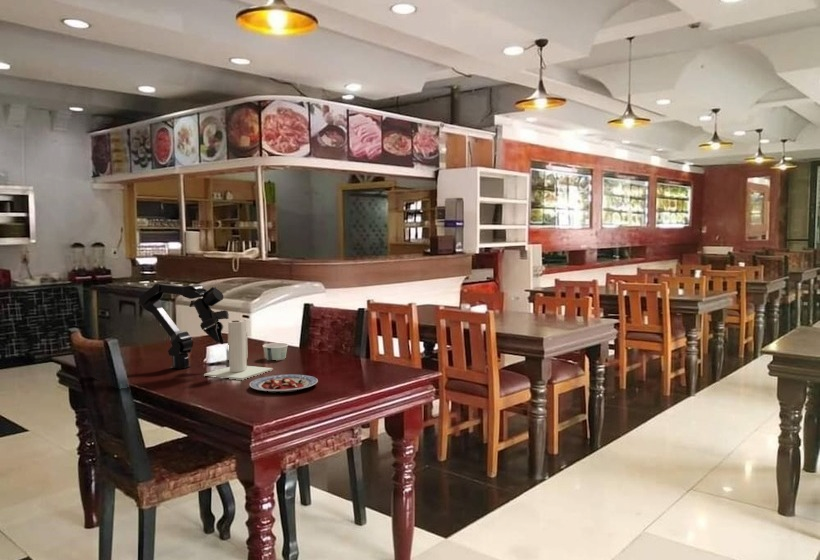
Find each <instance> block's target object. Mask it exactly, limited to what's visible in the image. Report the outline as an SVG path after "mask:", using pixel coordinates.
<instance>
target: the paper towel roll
mask: <svg viewBox="0 0 820 560" xmlns="http://www.w3.org/2000/svg"><path fill="white" fill-rule="evenodd" d="M246 323H247V322H246V320H231V321H227V326H228V327H227V328H228V330H227V331H228V333H229V362H228V363H229V367H230V372H241V371H244V370H245V369H247V366H248V362H247V360H248V359H247V354H246V332H247V327H246V326H247V325H246ZM228 333H227V334H228Z"/></svg>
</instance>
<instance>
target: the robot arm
mask: <svg viewBox="0 0 820 560" xmlns="http://www.w3.org/2000/svg"><path fill="white" fill-rule="evenodd" d="M164 294H172V295H178V296H182V297H183V298H186V299H189V300H191V301H190V304H189V307H190V308H193V307H194V308H195V310H196V313H197V314H198V317H199V319H200V320H201V323H200V328H201V330H203V332H204V333H206V334H207V336H209V337H210V338H211V339H212V340H213V341H215V342H216V343H219V344H220V345H223V344H224V343H225V342H224V339H223V338H224V337H223V334H222V331H223V329H224V324H223V322H221V321H219V320H224V319H225V320H228V319H229V311H228V310H219V311H215V310H213V309H212V307H214V306H215V305H217V304H218V303H220V302H222V300H224V293H223V292H222V291H221V290H220V289H218V288H217V287H216V286H212V287H210V289H205V288H204V287H203V285H201V284H193V285H181V284H172V283H170V284H169V283H163V282H159V283H155V284H154V285H152V287H151V288H149V289H148V290H146V291H145V292H143V294H141V295H140V296H139V298H138V303H139V305H140V307H142V308H143V309H144V310H145V311H147V312H149V313H151V314H152V315H153V317H154V318H155V319H156V320H157V322H158V323H159V324H160V326H161V327H162V328H163V330H164V331H165V332H166V334H167V335H168V336H169V338H170V345H171V346H170V348H169V349H168V350H167V352H168V355H169V356H171V358H172V359H171V360H172V361H171V362H172V366H170V367H169V369H172V368H177V369H176V370H182V369H181V368H184V369H186V368H185V367H188V368H190V367H189V366H191V365H190V363H189V354H190V353H191V352H192V348H193V347H194V340H193V337H192V336H191V335H190V334H189V332H188V331H187V330H186V331H181V330H180V328H178V325H176V323H175V322H174V320H173V319H172V318H171V317H170V316H169V314H168V313H167V311H165V309H164V308H163V306H162V305H163V304H162V298H163V297H164Z"/></svg>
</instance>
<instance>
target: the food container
mask: <svg viewBox="0 0 820 560" xmlns="http://www.w3.org/2000/svg"><path fill="white" fill-rule="evenodd" d="M288 346H289V344H288V343H285V342H271V343H270V342H269V343H265V344H262V348H263V351H264V352H263V353H264V356H265V357H264V358H265V360H266V359H267V360H266V361H270V360H276V361H282V360H285V358H286V357H287V350H288ZM286 359H287V358H286Z"/></svg>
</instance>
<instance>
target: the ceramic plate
mask: <svg viewBox="0 0 820 560" xmlns="http://www.w3.org/2000/svg"><path fill="white" fill-rule="evenodd" d="M317 383H319V380H318V378H316V377H315V376H311V375H307V374H293V373H292V374H288V373H287V374H277V375H276V374H275V375H268V376H263V377H259V378H256V379H253V380H252V381H250V382H249V387H250V388H252V389H254V390H257V391H263V392H267V391H268V393H276V392H280V393H292V392H296V391H297V390H298V391H302V390H303V389H306V388H310V387H312V386H315V385H316V384H317Z"/></svg>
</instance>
